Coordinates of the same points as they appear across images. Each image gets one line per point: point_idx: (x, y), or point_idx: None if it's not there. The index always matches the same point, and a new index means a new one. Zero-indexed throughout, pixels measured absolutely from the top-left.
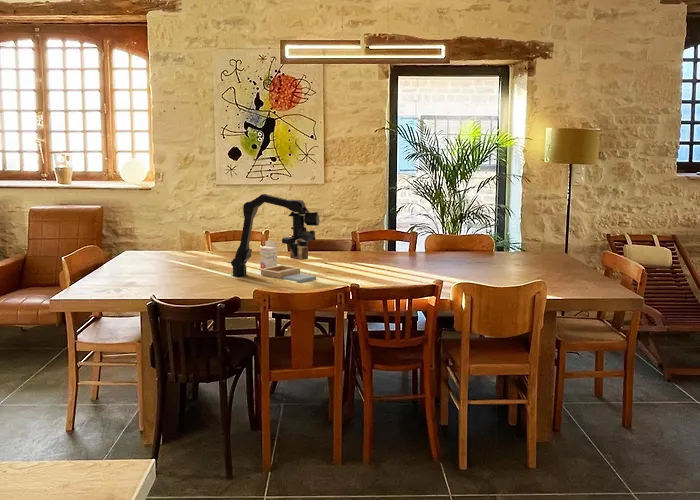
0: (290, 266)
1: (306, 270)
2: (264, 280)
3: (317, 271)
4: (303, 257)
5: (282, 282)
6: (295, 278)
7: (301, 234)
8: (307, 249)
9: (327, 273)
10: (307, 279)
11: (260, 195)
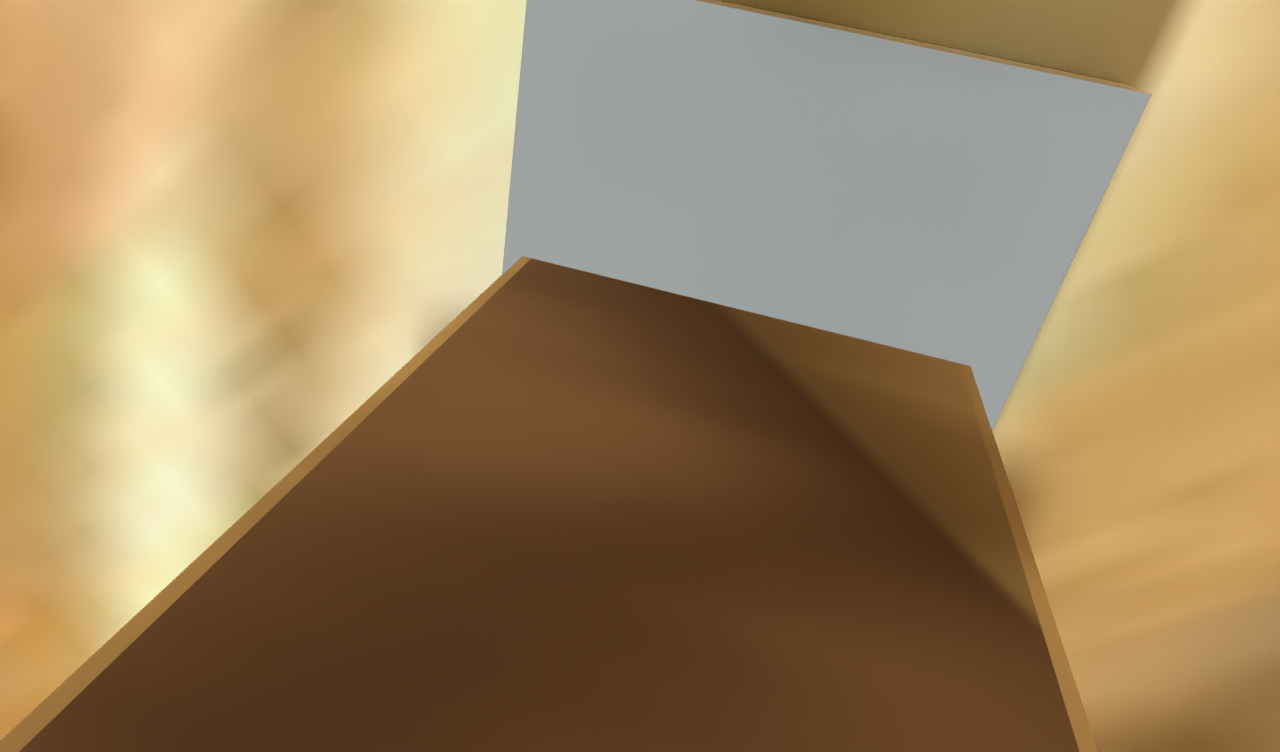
0: None
1: (136, 514)
2: (1100, 746)
3: (57, 346)
4: (825, 384)
5: (1193, 438)
6: (1006, 275)
7: None
8: (262, 569)
9: (19, 101)
10: (842, 28)
11: None
